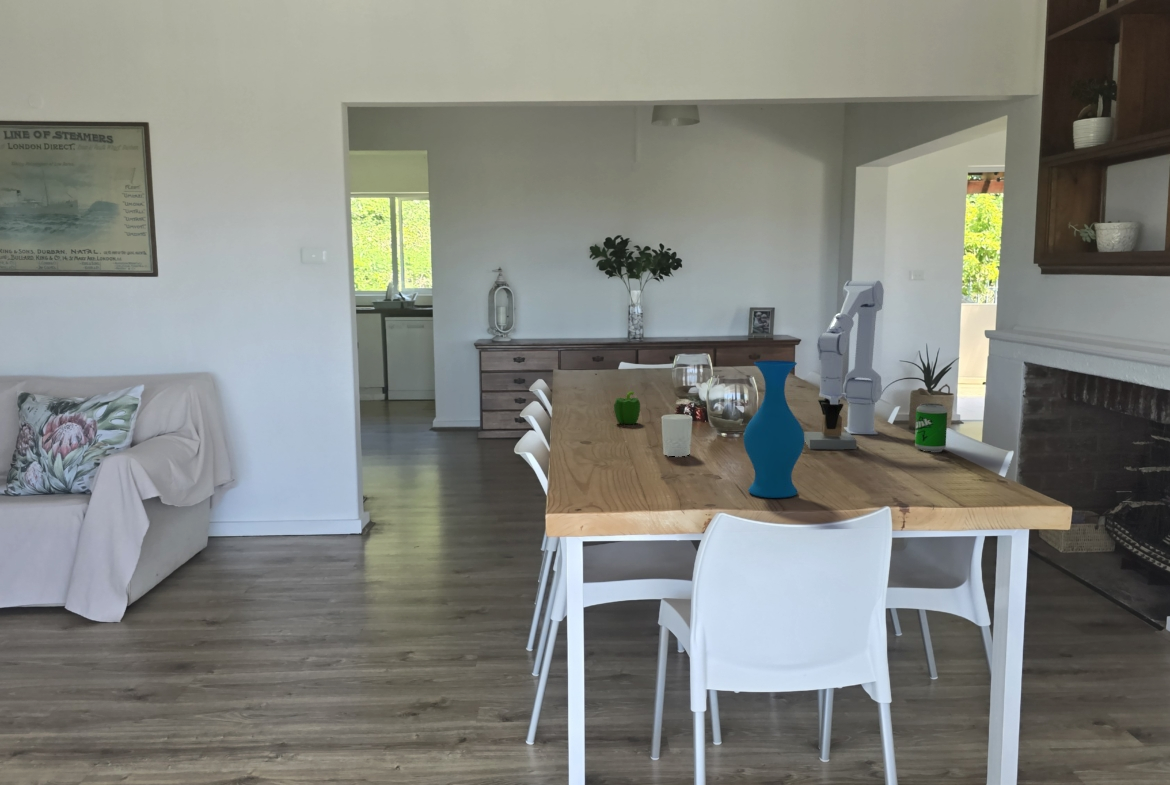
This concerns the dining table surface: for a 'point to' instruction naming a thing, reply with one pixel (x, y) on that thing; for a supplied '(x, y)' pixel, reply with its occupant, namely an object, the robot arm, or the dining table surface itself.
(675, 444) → the white cup
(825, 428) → the walnut cube
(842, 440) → the plinth
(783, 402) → the vase
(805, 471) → the dining table surface
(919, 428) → the soda can
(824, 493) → the dining table surface
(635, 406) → the bell pepper
